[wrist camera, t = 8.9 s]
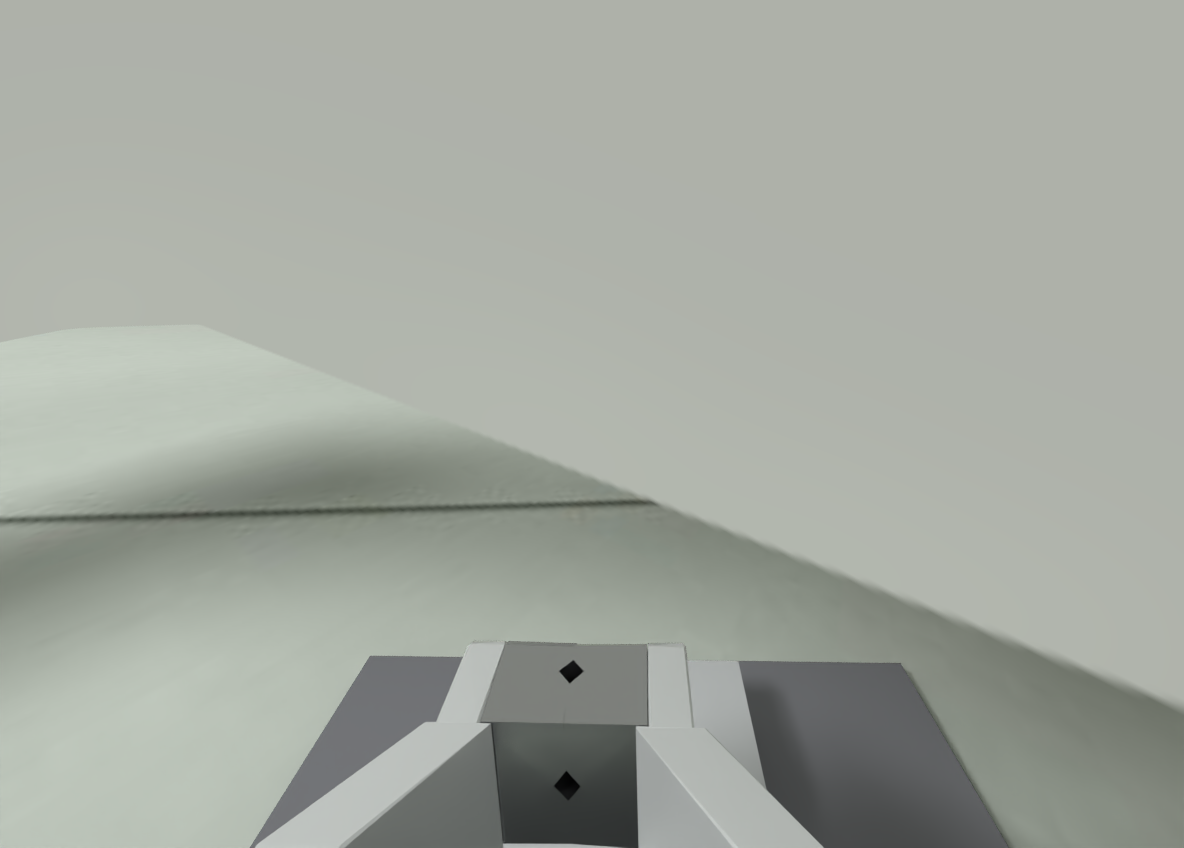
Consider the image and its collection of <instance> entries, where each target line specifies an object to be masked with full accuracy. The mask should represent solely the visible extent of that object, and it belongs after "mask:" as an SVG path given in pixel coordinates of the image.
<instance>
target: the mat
mask: <svg viewBox="0 0 1184 848" xmlns="http://www.w3.org/2000/svg"><path fill="white" fill-rule="evenodd" d="M462 658H463V657H415V656H370V657H369V659H368V660H367V662H366V663H365V665H364V666H363V668H362V670H361V671H360V673H359V674H358V676H357V678H356V679H355V681H354V682H353V684H352V686H351V687H350V689H349V690H348V692H347V694H346V695H345V697H344V698H343V700H342V702H341V703H340V705H339V706H338V708H337V710H336V711H335V713H334V714H333V716H332V718H331V719H330V721H329V722H328V724H327V725H326V727H325V729H324V730H323V732H322V733H321V735H320V737H319V738H318V740H317V741H316V743H315V745H314V746H313V748H312V749H311V751H310V753H309V754H308V756H307V757H306V759H305V761H304V762H303V764H302V765H301V767H300V769H299V770H298V772H297V773H296V775H295V777H294V778H293V780H292V781H291V783H290V784H289V786H288V788H287V789H286V791H285V792H284V794H283V796H282V797H281V799H280V800H279V802H278V804H277V805H276V807H275V808H274V810H273V812H272V813H271V815H270V816H269V818H268V820H267V821H266V823H265V824H264V826H263V828H262V829H261V831H260V832H259V834H258V836H257V837H256V839H255V840H254V842H253V843H252V845H251V847H250V848H255V847H256V845H257V844H258V843H260V842H261V841H262V840H264V839H265V838H266V837H268V836H269V835H271V834H272V833H273V832H275V831H276V830H277V829H279V828H280V827H282V826H283V825H284V824H286V823H287V822H288V821H290V820H291V819H293V818H294V817H295V816H297V815H298V814H299V813H301V812H302V811H304V810H305V809H306V808H308V807H309V806H310V805H312V804H313V803H315V802H316V801H317V800H319V799H320V798H321V797H323V796H324V795H326V794H327V793H328V792H330V791H331V790H332V789H334V788H335V787H337V786H338V785H339V784H341V783H342V782H343V781H345V780H346V779H348V778H349V777H350V776H352V775H353V774H354V773H356V772H357V771H359V770H360V769H361V768H363V767H364V766H365V765H367V764H368V763H370V762H371V761H372V760H374V759H375V758H376V757H378V756H379V755H381V754H382V753H383V752H385V751H386V750H387V749H389V748H390V747H392V746H393V745H394V744H396V743H397V742H398V741H400V740H401V739H403V738H404V737H405V736H407V735H408V734H409V733H411V732H412V731H414V730H415V729H416V728H418V727H419V726H420V725H422V724H423V723H425V722H436V721H437V719H438V716H439V714H440V711H441V709H442V706H443V704H444V702H445V699H446V697H447V694H448V692H449V690H450V687H451V685H452V682H453V680H454V677H455V675H456V673H457V670H458V668H459V665H460V663H461V661H462ZM738 662H739V667H740V671H741V676H742V680H743V685H744V690H745V694H746V699H747V703H748V708H749V712H750V717H751V721H752V726H753V731H754V735H755V740H756V744H757V749H758V753H759V758H760V762H761V767H762V771H763V776H764V781H765V785H766V790H767V791H768V792H769V793H770V794H771V795H772V796H773V797H774V798H775V799H776V800H777V801H778V802H779V803H780V804H781V805H782V806H783V807H784V808H785V809H786V810H787V811H788V812H789V813H790V814H791V815H792V816H793V817H794V818H795V819H796V820H797V821H798V822H799V823H800V824H801V825H802V826H803V827H804V828H805V829H806V830H807V831H808V832H809V833H810V834H811V835H812V836H813V837H814V838H815V839H816V840H817V841H818V842H819V843H820V844H821V845H822V846H823V847H824V848H1009V847H1008V845H1007V843H1006V842H1005V840H1004V838H1003V837H1002V835H1001V833H1000V832H999V830H998V828H997V826H996V825H995V823H994V821H993V820H992V818H991V816H990V815H989V813H988V811H987V809H986V808H985V806H984V804H983V803H982V801H981V799H980V797H979V796H978V794H977V792H976V791H975V789H974V787H973V786H972V784H971V782H970V780H969V779H968V777H967V775H966V774H965V772H964V770H963V769H962V767H961V765H960V763H959V762H958V760H957V758H956V757H955V755H954V753H953V752H952V750H951V748H950V746H949V745H948V743H947V741H946V740H945V738H944V736H943V734H942V733H941V731H940V729H939V728H938V726H937V724H936V723H935V721H934V719H933V717H932V716H931V714H930V712H929V711H928V709H927V707H926V706H925V704H924V702H923V700H922V699H921V697H920V695H919V694H918V692H917V690H916V689H915V687H914V685H913V683H912V682H911V680H910V678H909V677H908V675H907V673H906V672H905V670H904V668H903V666H902V665H901V663H842V662H771V661H738Z"/></svg>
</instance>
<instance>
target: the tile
mask: <svg viewBox="0 0 1184 848" xmlns="http://www.w3.org/2000/svg"><path fill="white" fill-rule="evenodd" d="M687 663H688V672H689V681H690V690H691V700H692V709H693V718H694V728H706V729H707V730H708V731H709V732H710V733H711V734H712V735H713V736H714V737H715V738H716V739H717V740H718V741H719V742H720V743H721V744H722V745H723V746H724V747H725V748H726V749H727V750H728V751H729V752H730V753H731V754H732V755H733V756H734V757H735V758H736V759H737V760H738V761H739V762H740V763H741V764H742V765H743V766H744V767H745V768H746V769H747V770H748V771H749V772H750V773H751V774H752V775H753V776H754V777H755V778H756V780H757V781H758V782H759V783H760V784H761V785H762V786H763V787H764V788H765V789H766V785H765V781H764V776H763V771H762V767H761V762H760V758H759V753H758V749H757V744H756V740H755V735H754V731H753V726H752V721H751V717H750V712H749V708H748V703H747V699H746V694H745V690H744V685H743V680H742V676H741V671H740V667H739V662H738V661H713V660H687ZM647 670H648V660H647ZM503 848H622V847H608V846H593V845H578V844H503Z"/></svg>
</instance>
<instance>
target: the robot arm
mask: <svg viewBox="0 0 1184 848" xmlns="http://www.w3.org/2000/svg"><path fill="white" fill-rule="evenodd" d="M647 660H648V670H647ZM503 844H578V845H593V846H608V847H622V848H824V847H823V846H822V845H821V844H820V843H819V842H818V841H817V840H816V839H815V838H814V837H813V836H812V835H811V834H810V833H809V832H808V831H807V830H806V829H805V828H804V827H803V826H802V825H801V824H800V823H799V822H798V821H797V820H796V819H795V818H794V817H793V816H792V815H791V814H790V813H789V812H788V811H787V810H786V809H785V808H784V807H783V806H782V805H781V804H780V803H779V802H778V801H777V800H776V799H775V798H774V797H773V796H772V795H771V794H770V793H769V792H768V791H767V790H766V789H765V788H764V787H763V786H762V785H761V784H760V783H759V782H758V781H757V780H756V778H755V777H754V776H753V775H752V774H751V773H750V772H749V771H748V770H747V769H746V768H745V767H744V766H743V765H742V764H741V763H740V762H739V761H738V760H737V759H736V758H735V757H734V756H733V755H732V754H731V753H730V752H729V751H728V750H727V749H726V748H725V747H724V746H723V745H722V744H721V743H720V742H719V741H718V740H717V739H716V738H715V737H714V736H713V735H712V734H711V733H710V732H709V731H708V730H707V729H706V728H694V718H693V709H692V700H691V690H690V681H689V672H688V663H687V653H686V646H685V645H684V644H683V643H648V650H647V644H577V643H550V642H521V641H508V642H506V641H473V642H471V643H470V644H469V645H468V646H467V648H466V651H465V653H464V656H463V658H462V661H461V663H460V665H459V668H458V670H457V673H456V675H455V677H454V680H453V682H452V685H451V687H450V690H449V692H448V694H447V697H446V699H445V702H444V704H443V706H442V709H441V711H440V714H439V716H438V719H437V721H436V722H425V723H423V724H422V725H420V726H419V727H418V728H416V729H415V730H414V731H412V732H411V733H409V734H408V735H407V736H405V737H404V738H403V739H401V740H400V741H398V742H397V743H396V744H394V745H393V746H392V747H390V748H389V749H387V750H386V751H385V752H383V753H382V754H381V755H379V756H378V757H376V758H375V759H374V760H372V761H371V762H370V763H368V764H367V765H365V766H364V767H363V768H361V769H360V770H359V771H357V772H356V773H354V774H353V775H352V776H350V777H349V778H348V779H346V780H345V781H343V782H342V783H341V784H339V785H338V786H337V787H335V788H334V789H332V790H331V791H330V792H328V793H327V794H326V795H324V796H323V797H321V798H320V799H319V800H317V801H316V802H315V803H313V804H312V805H310V806H309V807H308V808H306V809H305V810H304V811H302V812H301V813H299V814H298V815H297V816H295V817H294V818H293V819H291V820H290V821H288V822H287V823H286V824H284V825H283V826H282V827H280V828H279V829H277V830H276V831H275V832H273V833H272V834H271V835H269V836H268V837H266V838H265V839H264V840H262V841H261V842H260V843H258V844H257V845H256V847H255V848H503Z"/></svg>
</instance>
